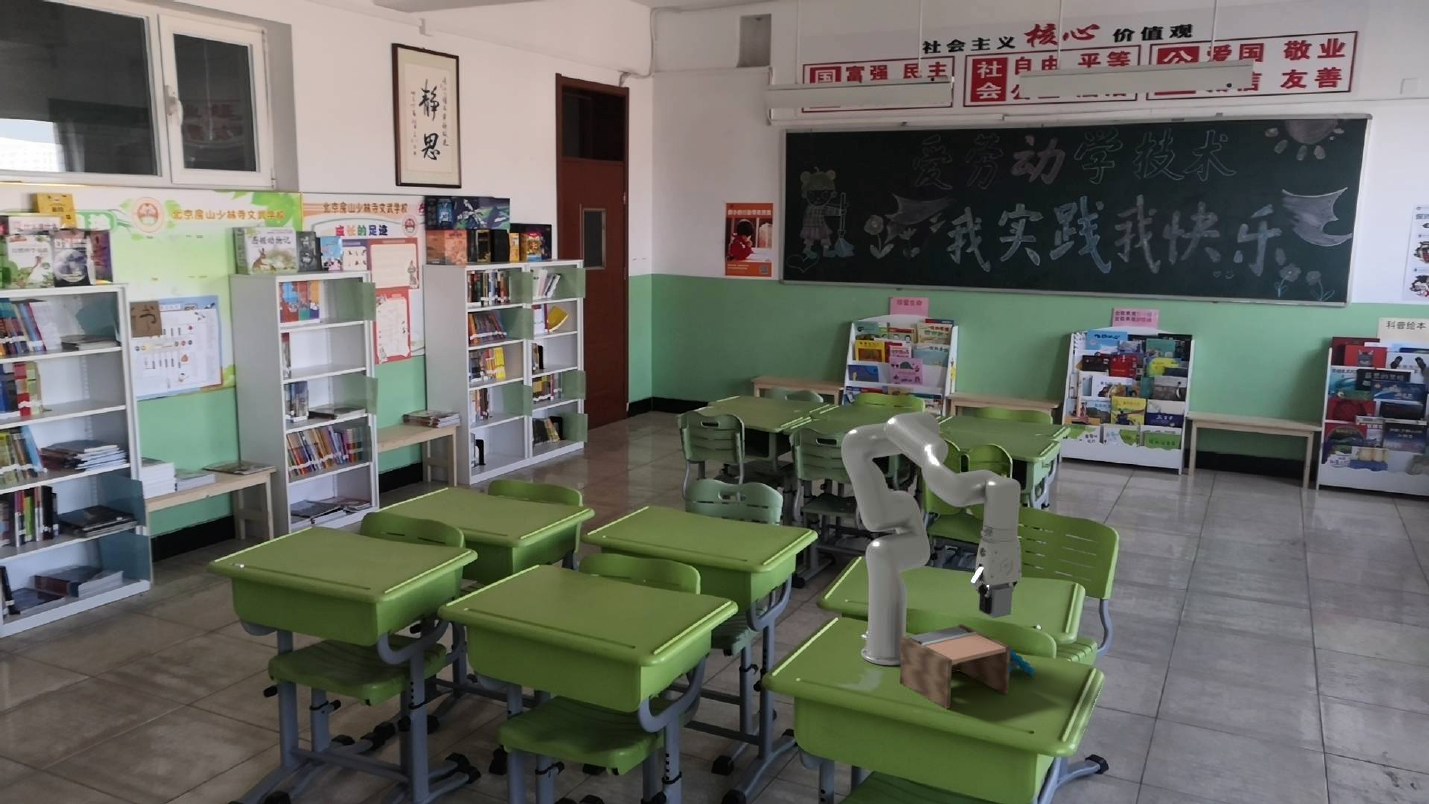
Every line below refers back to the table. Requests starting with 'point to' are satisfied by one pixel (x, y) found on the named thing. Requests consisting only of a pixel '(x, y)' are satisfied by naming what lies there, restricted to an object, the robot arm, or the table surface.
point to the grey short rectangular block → (1000, 600)
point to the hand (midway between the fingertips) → (994, 609)
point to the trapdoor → (958, 644)
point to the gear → (1019, 663)
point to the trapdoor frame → (949, 670)
